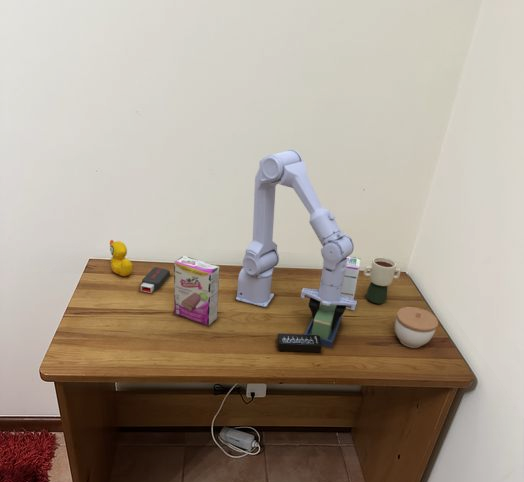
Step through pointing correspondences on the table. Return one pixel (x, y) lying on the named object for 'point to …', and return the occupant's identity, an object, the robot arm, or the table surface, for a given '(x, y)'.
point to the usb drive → (154, 279)
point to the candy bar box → (196, 290)
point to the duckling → (120, 259)
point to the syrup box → (350, 277)
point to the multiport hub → (299, 342)
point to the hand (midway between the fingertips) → (323, 325)
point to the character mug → (380, 278)
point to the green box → (323, 321)
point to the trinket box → (415, 326)
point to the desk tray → (332, 335)
